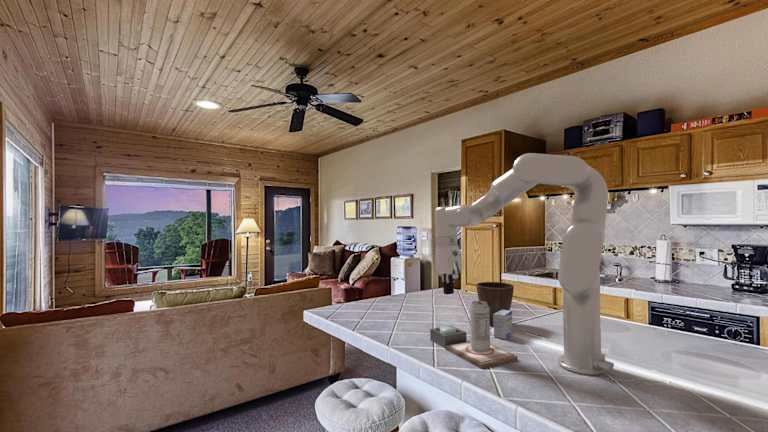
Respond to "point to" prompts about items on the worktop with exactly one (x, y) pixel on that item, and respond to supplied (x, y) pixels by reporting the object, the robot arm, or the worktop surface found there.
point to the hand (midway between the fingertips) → (448, 293)
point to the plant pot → (495, 296)
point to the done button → (447, 330)
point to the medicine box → (502, 324)
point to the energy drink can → (479, 326)
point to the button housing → (447, 337)
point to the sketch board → (481, 355)
